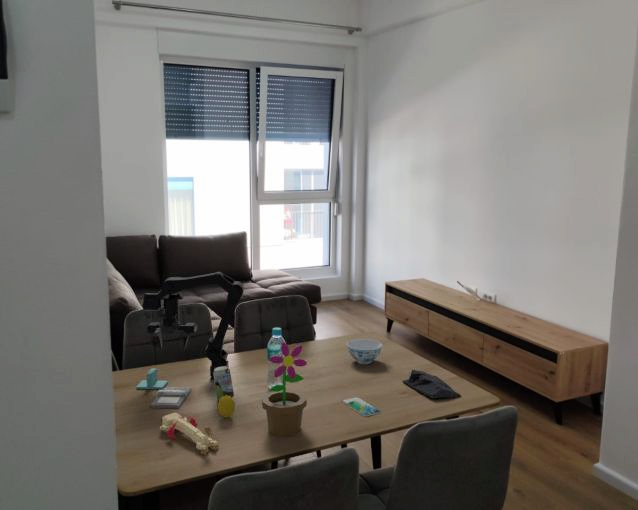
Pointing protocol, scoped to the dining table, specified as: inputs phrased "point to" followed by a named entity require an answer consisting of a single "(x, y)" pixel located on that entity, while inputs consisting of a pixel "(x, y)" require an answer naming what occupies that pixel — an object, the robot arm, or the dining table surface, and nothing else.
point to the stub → (152, 381)
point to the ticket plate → (170, 397)
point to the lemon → (226, 406)
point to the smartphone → (361, 406)
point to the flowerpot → (285, 396)
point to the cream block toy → (188, 431)
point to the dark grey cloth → (430, 385)
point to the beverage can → (223, 382)
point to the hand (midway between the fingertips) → (172, 348)
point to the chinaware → (364, 350)
